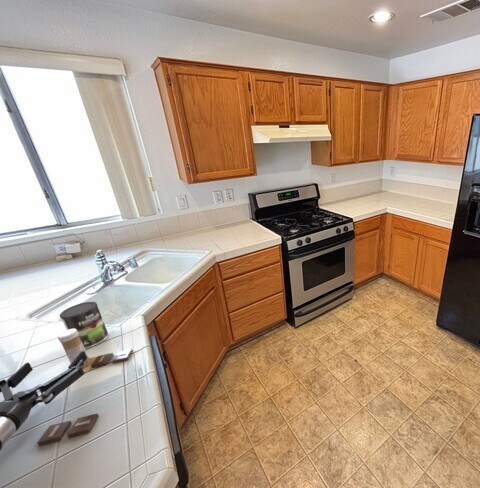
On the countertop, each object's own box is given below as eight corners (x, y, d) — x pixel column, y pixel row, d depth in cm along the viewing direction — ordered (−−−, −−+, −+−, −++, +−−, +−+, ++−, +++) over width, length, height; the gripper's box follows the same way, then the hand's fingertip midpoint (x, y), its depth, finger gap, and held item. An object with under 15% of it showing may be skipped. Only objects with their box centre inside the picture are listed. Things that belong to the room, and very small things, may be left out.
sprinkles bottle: (75, 364, 89) (60, 331, 84) (92, 358, 90) (78, 326, 86) (71, 373, 85) (54, 339, 80) (89, 367, 87) (73, 334, 82)
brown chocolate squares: (38, 446, 63) (36, 442, 63) (51, 428, 67) (49, 425, 67) (89, 432, 66) (87, 428, 65) (99, 416, 70) (97, 412, 69)
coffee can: (115, 334, 103) (103, 303, 99) (85, 352, 94) (70, 319, 89) (98, 329, 107) (85, 299, 102) (67, 347, 98) (52, 314, 93)
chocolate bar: (63, 377, 84) (61, 373, 83) (76, 361, 90) (74, 358, 90) (126, 362, 88) (125, 359, 87) (134, 348, 94) (133, 345, 94)
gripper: (-68, 457, 57) (10, 381, 76) (68, 421, 63) (109, 359, 83) (-89, 433, 55) (-2, 361, 74) (56, 398, 61) (101, 340, 80)
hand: (57, 360), depth 78 cm, fingers open, 13 cm apart
